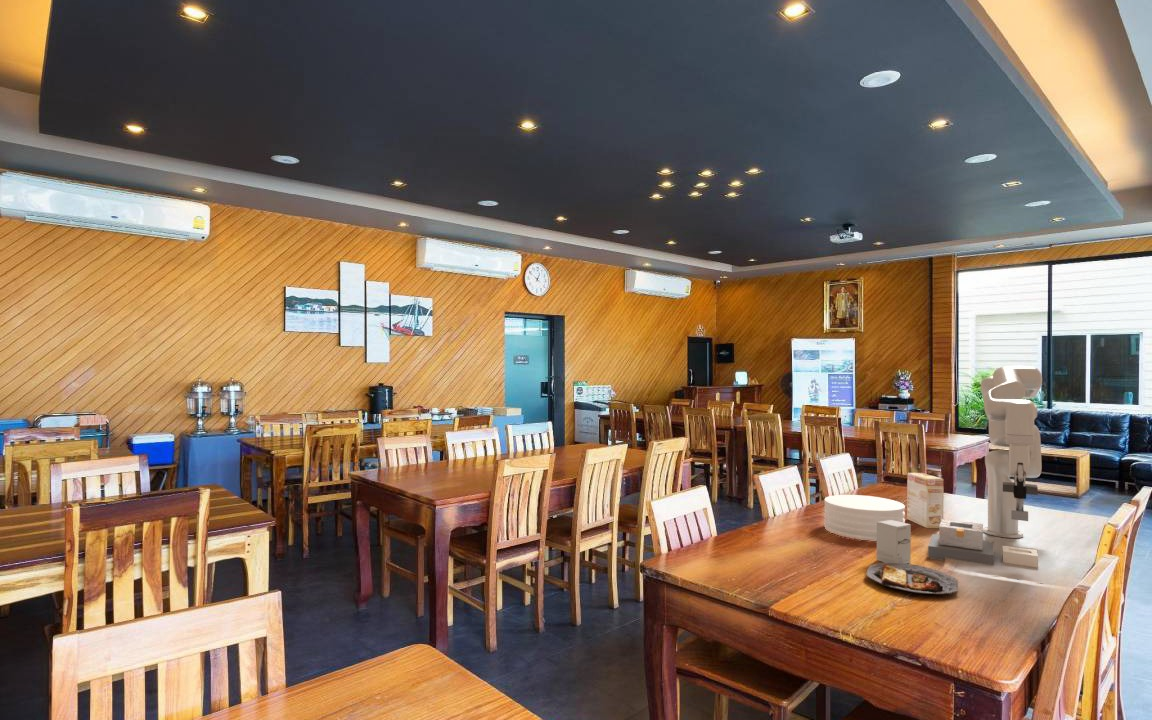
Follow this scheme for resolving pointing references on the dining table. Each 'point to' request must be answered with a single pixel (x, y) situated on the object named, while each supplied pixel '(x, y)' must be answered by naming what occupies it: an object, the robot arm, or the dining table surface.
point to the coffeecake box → (925, 499)
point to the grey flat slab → (961, 552)
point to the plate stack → (860, 515)
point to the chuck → (961, 534)
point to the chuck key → (1020, 500)
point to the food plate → (912, 578)
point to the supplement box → (893, 542)
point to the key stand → (1020, 556)
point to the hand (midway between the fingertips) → (1019, 496)
